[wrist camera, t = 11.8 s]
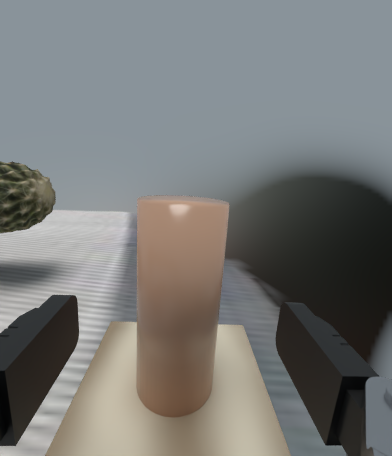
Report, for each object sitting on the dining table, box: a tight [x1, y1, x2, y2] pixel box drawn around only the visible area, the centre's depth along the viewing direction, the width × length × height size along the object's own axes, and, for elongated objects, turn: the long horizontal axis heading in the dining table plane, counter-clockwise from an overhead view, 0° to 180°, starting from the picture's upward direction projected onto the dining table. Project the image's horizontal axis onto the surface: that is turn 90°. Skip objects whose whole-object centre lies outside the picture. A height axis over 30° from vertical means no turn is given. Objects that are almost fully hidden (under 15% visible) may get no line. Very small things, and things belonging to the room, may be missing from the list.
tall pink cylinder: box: [136, 195, 229, 417], centre depth 15 cm, size 5×5×12 cm
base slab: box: [45, 322, 291, 456], centre depth 16 cm, size 12×12×3 cm
